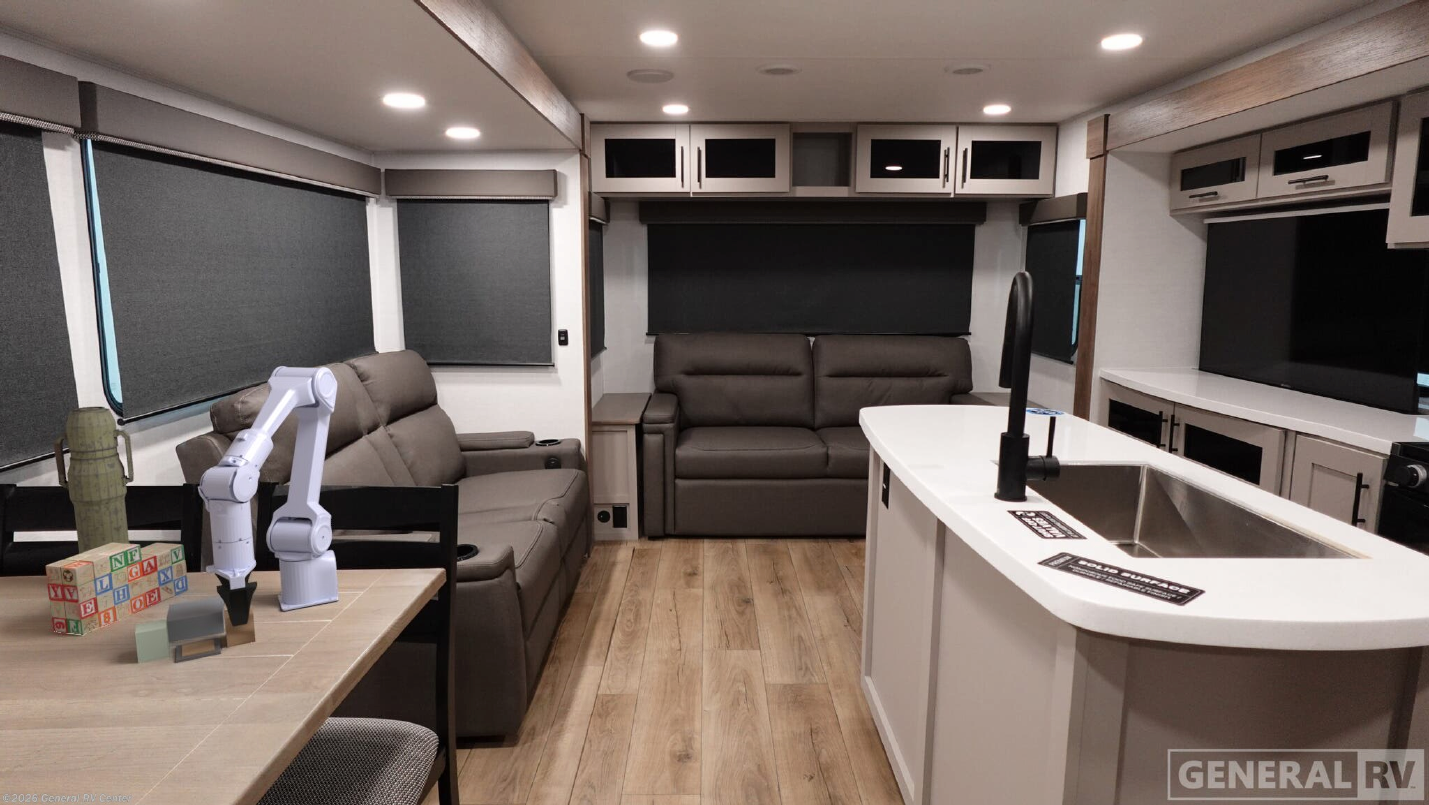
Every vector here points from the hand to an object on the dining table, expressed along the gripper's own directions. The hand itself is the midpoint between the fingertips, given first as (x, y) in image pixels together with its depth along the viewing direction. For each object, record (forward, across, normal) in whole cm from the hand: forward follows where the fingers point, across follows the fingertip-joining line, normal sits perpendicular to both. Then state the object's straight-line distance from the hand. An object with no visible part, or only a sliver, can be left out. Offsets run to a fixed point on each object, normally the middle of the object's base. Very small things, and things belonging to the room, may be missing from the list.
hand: (238, 616), depth 134 cm
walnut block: (+4, 0, 0) cm, 4 cm away
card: (+4, +1, -6) cm, 7 cm away
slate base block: (+4, -9, -6) cm, 12 cm away
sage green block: (+4, -1, -12) cm, 13 cm away
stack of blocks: (+4, -25, -17) cm, 31 cm away
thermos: (+4, -43, -20) cm, 48 cm away
